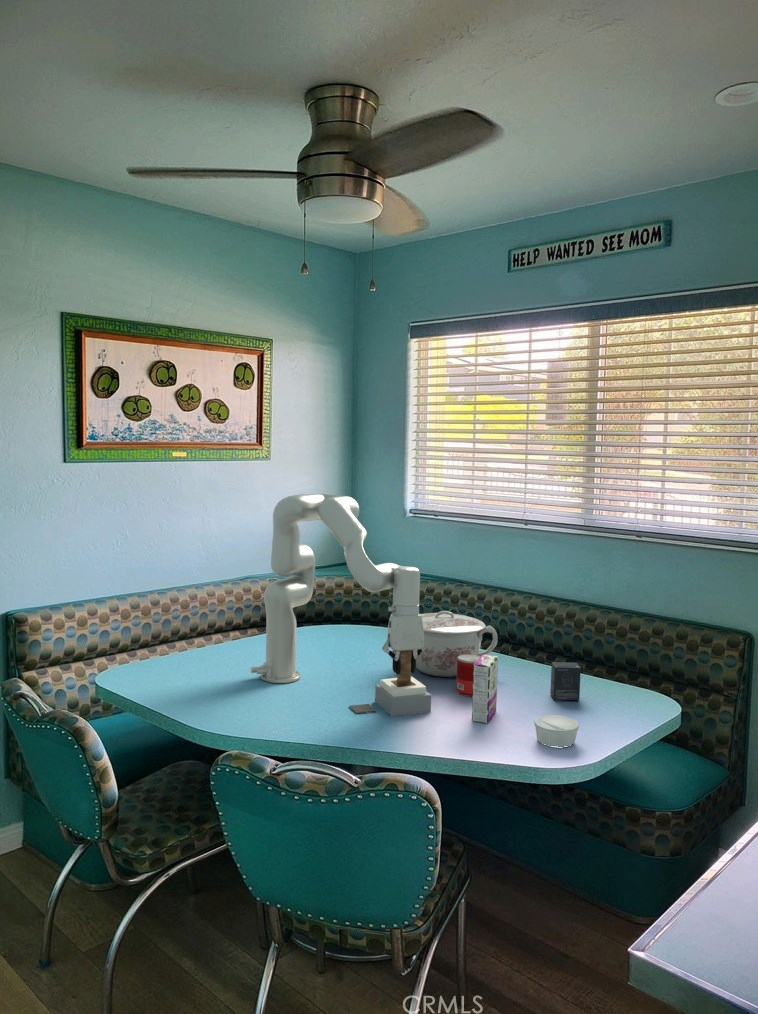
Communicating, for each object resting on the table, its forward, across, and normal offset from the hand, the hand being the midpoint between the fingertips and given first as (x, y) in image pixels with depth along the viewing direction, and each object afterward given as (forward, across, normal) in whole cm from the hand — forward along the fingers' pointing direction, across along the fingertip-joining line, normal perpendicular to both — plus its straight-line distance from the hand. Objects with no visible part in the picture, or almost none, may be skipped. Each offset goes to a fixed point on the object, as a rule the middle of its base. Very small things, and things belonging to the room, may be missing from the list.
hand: (404, 671), depth 226 cm
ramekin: (+11, +28, -36) cm, 47 cm away
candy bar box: (+11, +19, -14) cm, 26 cm away
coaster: (+10, -12, +1) cm, 16 cm away
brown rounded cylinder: (+4, 0, 0) cm, 4 cm away
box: (+11, +51, -7) cm, 52 cm away
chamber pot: (+11, +27, +28) cm, 40 cm away
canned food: (+11, +25, +6) cm, 28 cm away
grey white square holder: (+10, 0, 0) cm, 10 cm away
